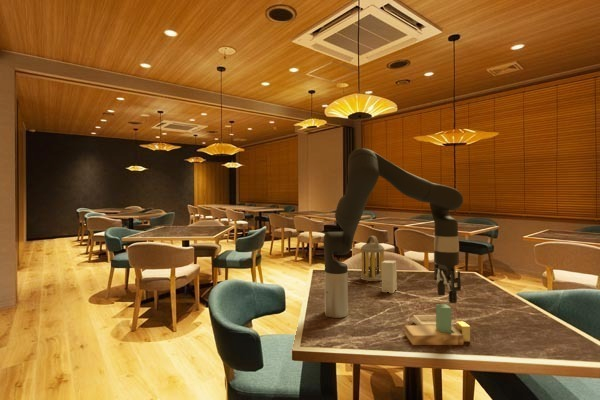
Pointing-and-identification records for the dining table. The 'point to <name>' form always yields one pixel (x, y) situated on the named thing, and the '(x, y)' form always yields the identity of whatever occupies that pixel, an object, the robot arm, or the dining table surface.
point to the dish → (424, 319)
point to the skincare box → (389, 276)
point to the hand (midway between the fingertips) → (446, 298)
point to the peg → (443, 318)
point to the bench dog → (464, 330)
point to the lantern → (372, 259)
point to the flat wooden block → (432, 335)
